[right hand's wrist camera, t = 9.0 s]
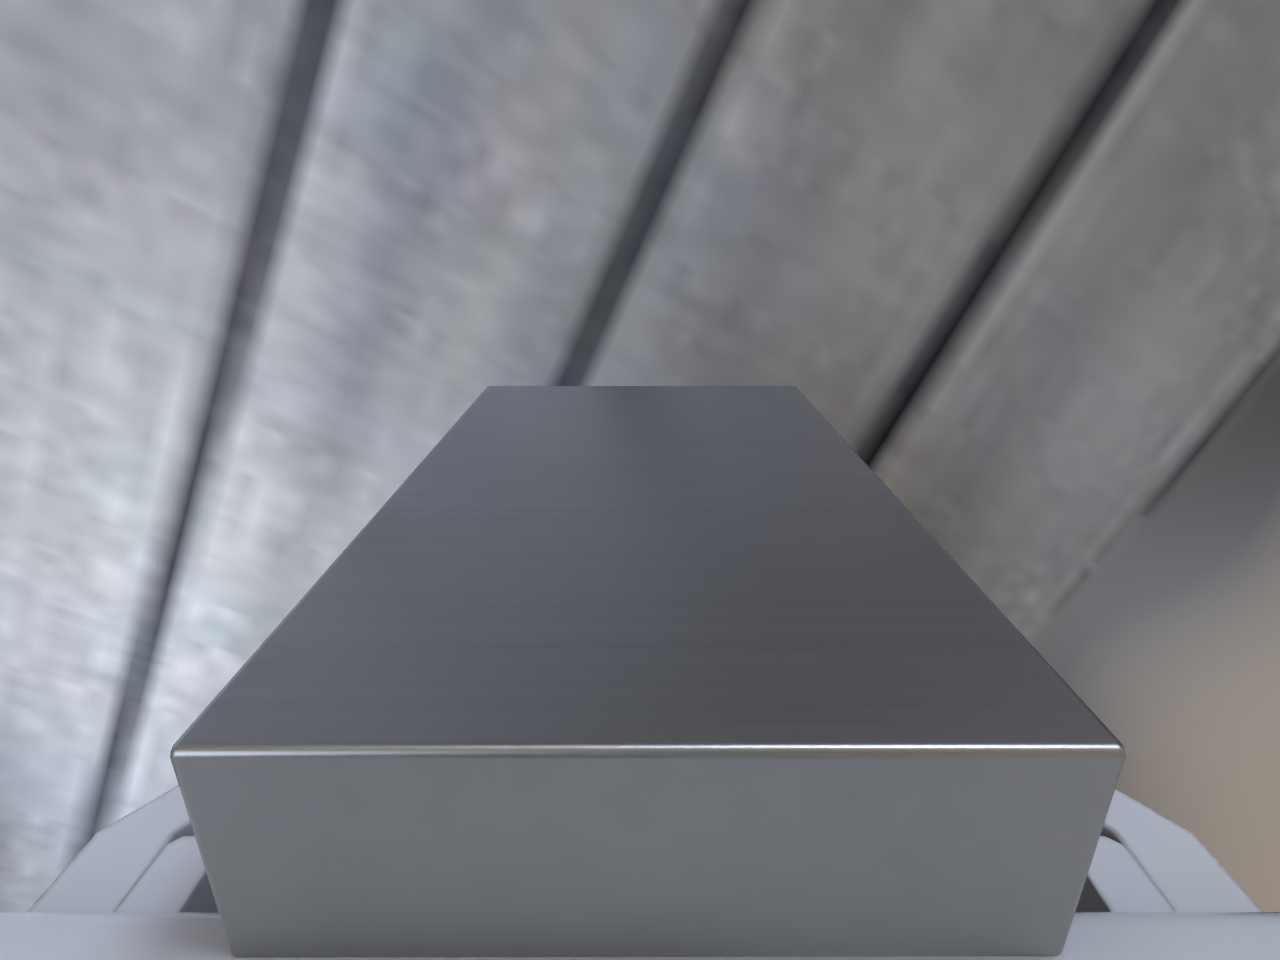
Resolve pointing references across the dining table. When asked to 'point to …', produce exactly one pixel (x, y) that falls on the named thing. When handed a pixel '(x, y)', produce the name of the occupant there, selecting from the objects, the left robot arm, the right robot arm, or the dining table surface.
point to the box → (646, 711)
